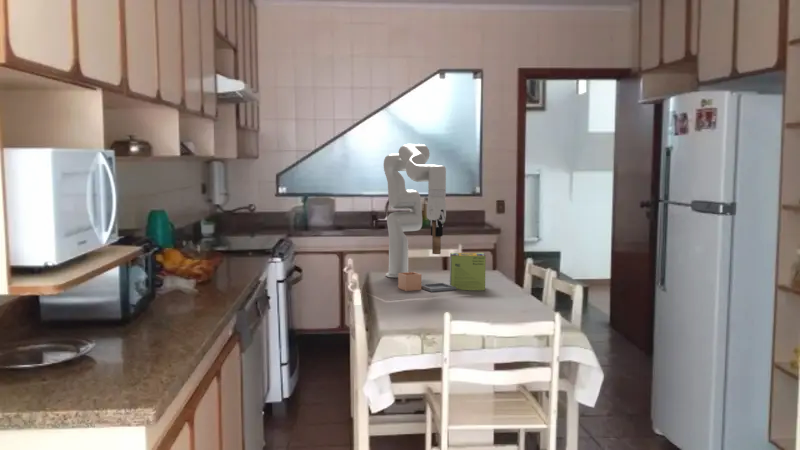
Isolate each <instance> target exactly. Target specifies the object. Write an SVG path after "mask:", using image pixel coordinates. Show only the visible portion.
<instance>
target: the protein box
mask: <svg viewBox="0 0 800 450" xmlns="http://www.w3.org/2000/svg"><path fill="white" fill-rule="evenodd" d="M449 253H450V254H449V255H450V257H449V258H450V259H449V261H450V262H449V285H452V286H455V287H456V290H462V291H486V267H487V266H486V264H487V263H486V259H487V257H486V256H487V255H486V254H485V253H484V252H449Z"/></svg>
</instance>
